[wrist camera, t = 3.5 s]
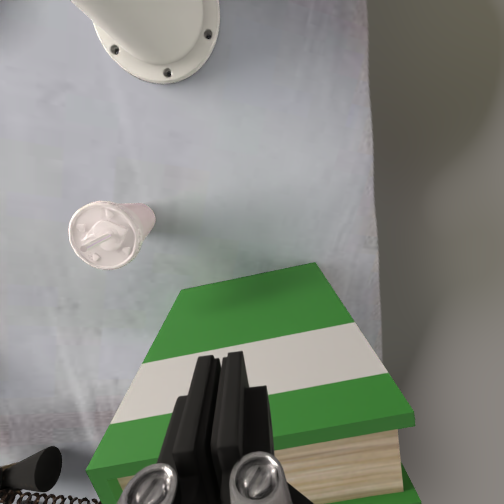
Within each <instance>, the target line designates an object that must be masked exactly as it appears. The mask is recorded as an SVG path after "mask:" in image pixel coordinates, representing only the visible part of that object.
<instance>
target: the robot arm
mask: <svg viewBox="0 0 504 504" xmlns="http://www.w3.org/2000/svg"><path fill="white" fill-rule="evenodd" d="M70 1H71V2H72V3H74V4H75V5H76V6H77V7H78V8H79V9H80V10H81V11H82V12H83V13H85V14H86V15H87V16H88V17H89V18H90V19H91V20H92V21H93V24H94V27H95V30H96V33H97V35H98V37H99V39H100V41H101V43H102V45H103V47H104V48H105V50H106V51H107V52H108V54H109V55H110V56H111V58H112V59H113V60H114V61H115V62H116V63H117V64H118V65H119V66H120V67H121V68H123V69H124V70H126V71H127V72H128V73H130V74H131V75H133V76H135V77H137V78H139V79H141V80H144V81H147V82H150V83H157V84H169V83H175V82H178V81H181V80H184V79H186V78H188V77H189V76H191V75H193V74H194V73H195V72H197V71H198V70H199V69H200V68H201V67H202V66H203V65H204V63H205V62H206V61H207V59H208V58H209V57H210V55H211V53H212V51H213V48H214V46H215V44H216V40H217V37H218V33H219V25H220V8H219V0H70ZM208 35H210V36H211V39H207V36H208ZM118 50H119V53H118V54H116V52H117V51H118ZM169 72H170V73H171V76H170V77H168V76H167V74H168V73H169ZM117 504H314V503H313V502H311V501H310V500H309V499H308V498H306V497H305V496H304V495H303V494H301V493H300V492H299V491H298V490H297V489H295V488H294V487H293V486H292V485H290V484H289V483H288V482H287V481H286V477H285V473H284V470H283V467H282V465H281V463H280V461H279V460H278V459H277V458H276V457H275V454H274V442H273V430H272V420H271V411H270V404H269V398H268V391H267V386H266V385H264V386H256V387H249V383H248V377H247V372H246V366H245V360H244V355H243V351H237V352H229V353H228V355H227V357H223V359H222V365H221V364H220V359H219V358H214V355H206V356H199V357H198V359H197V362H196V366H195V369H194V373H193V377H192V381H191V384H190V388H189V392H188V395H185V396H179V397H178V398H177V400H176V403H175V406H174V409H173V412H172V415H171V419H170V422H169V425H168V428H167V431H166V435H165V438H164V441H163V444H162V447H161V451H160V454H159V457H158V460H157V463H156V464H152V465H150V466H147V467H145V468H143V469H142V470H141V471H139V472H138V473H136V474H135V475H134V476H133V478H132V479H131V480H130V481H129V482H128V484H127V485H126V487H125V489H124V490H123V492H122V494H121V496H120V498H119V500H118V502H117Z"/></svg>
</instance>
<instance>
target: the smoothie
mask: <svg viewBox="0 0 504 504" xmlns="http://www.w3.org/2000/svg"><path fill="white" fill-rule="evenodd" d="M154 225H155V215H154V212H153V211H152V209H151V208H150V207H148V206H147V205H145V204H141V203H127V204H116V203H113V202H110V201H97V202H92V203H90V204H88V205H85V206H83V207H81V208H80V209H79V210H78V211H77V212H76V213H75V214H74V215H73V217H72V219H71V221H70V224H69V230H68V233H69V240H70V243H71V246H72V248H73V250H74V251H75V253H76V254H77V255H78V256H79V257H80V258H81V259H82V260H83V261H84V262H85V263H87V264H89V265H90V266H93V267H95V268H98V269H103V270H113V269H118V268H121V267H123V266H125V265H126V264H128V263H130V262H131V261H132V260H133V259H134V258H135V257H136V256H137V254H138V253H139V251H140V248H141V244H142V242H143V241H144V239H145V238H146V237H147V235H148V234H149V233H150V231H151V230H152V228H153V227H154Z"/></svg>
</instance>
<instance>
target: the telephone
mask: <svg viewBox="0 0 504 504" xmlns="http://www.w3.org/2000/svg"><path fill="white" fill-rule="evenodd" d="M61 468H62V455H61V452H60V450H59V449H58V448H57V447H55V446H51V447H48V448H46V449H44V450H42V451H40V452H38V453H36V454H34V455H32V456H30V457H28V458H27V459H25V460H23V461H21V462H17V463H12V464H9V465H5V466H1V467H0V498H1V500H0V503H3V504H12V503H13V502H14V499H15V496H16V495H17V494H19V495H20V497H19V499H18V500H17V504H38V503H39V499H40V498H41V497H42V496H43V497H44V499H45V501H44V502H43V504H47V502H48V499H49V498H53V502H52V504H55V503H56V500H57V499H59V498H61V499H62V502H61V503H60V504H64V502H65V500H66V499H67V498H64V496H63V495H59V496H57V497H56V496H55V495H54V494H50V495H48V496H47V495H46V494H45V493H43V494H41V495H39V493H34V494H32V495H34V496H36V497H37V498H36V500H35V501H31V498H32V495H31V493H30V492H26V493H24V494H22V492H21V490H22V489H25V490H31V491H37V492H47V491H49V490H50V489H51V488H52V487H53V486H54V485H55V484H56V482H57V480H58V478H59V476H60V473H61ZM25 495H28V496H29V497H28V498H27V500H24V501H22V498H23V497H24V496H25ZM68 498H69V500H70V504H73V502H74V501H76V500H77V499H78V498H77V497H75V498H74V499H73V498H72V496H68ZM83 501H87V504H91V503H92V502H94V503H95V504H102V503H101V501H100V502H99V503H98V501H97V500H96V499H92V502H91V503H90V501H89V500H88V499H87V498H86V497H85V498H83V499H78V503H79V504H81V503H82V502H83Z"/></svg>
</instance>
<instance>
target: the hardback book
mask: <svg viewBox="0 0 504 504" xmlns="http://www.w3.org/2000/svg"><path fill="white" fill-rule="evenodd" d="M237 351H243V355H244V360H245V366H246V372H247V377H248V383H249V387H256V386H264V385H266V386H267V391H268V398H269V404H270V411H271V420H272V430H273V442H274V454H275V457H276V458H277V459H278V460H279V461H280V463H281V465H282V467H283V470H284V473H285V477H286V481H287V482H288V483H289V484H290V485H292V486H293V487H294V488H295V489H297V490H298V491H299V492H300V493H301V494H303V495H304V496H305V497H306V498H308V499H309V500H310V501H311V502H313V503H314V504H421V500H420V498H419V496H418V494H417V492H416V490H415V488H414V486H413V484H412V483H411V480H410V478H409V476H408V475H407V472H406V471H405V469H404V467H403V465H402V463H401V460H400V452H399V441H398V431H397V429H401V428H407V427H413V426H415V417H414V411H413V409H412V408H411V406H410V405H409V403H408V402H407V400H406V399H405V397H404V396H403V394H402V393H401V391H400V390H399V388H398V387H397V385H396V384H395V382H394V381H393V379H392V378H391V376H390V375H389V373H388V372H387V370H386V369H385V367H384V366H383V364H382V362H381V361H380V359H379V358H378V356H377V355H376V353H375V352H374V350H373V349H372V347H371V346H370V344H369V343H368V341H367V340H366V338H365V337H364V335H363V334H362V332H361V331H360V329H359V328H358V326H357V325H356V323H355V322H354V320H353V319H352V317H351V315H350V314H349V312H348V311H347V309H346V308H345V306H344V305H343V303H342V302H341V300H340V299H339V297H338V296H337V294H336V293H335V291H334V290H333V288H332V287H331V285H330V284H329V282H328V281H327V279H326V278H325V276H324V275H323V273H322V272H321V270H320V268H319V267H318V265H317V264H316V262H314V263H309V264H304V265H299V266H295V267H290V268H285V269H280V270H275V271H270V272H266V273H261V274H256V275H251V276H246V277H242V278H237V279H232V280H227V281H222V282H217V283H213V284H208V285H203V286H198V287H193V288H188V289H184V290H181V291H180V293H179V295H178V297H177V299H176V301H175V303H174V304H173V306H172V308H171V310H170V312H169V314H168V316H167V318H166V320H165V321H164V323H163V325H162V327H161V329H160V331H159V333H158V335H157V337H156V338H155V340H154V342H153V344H152V346H151V348H150V350H149V352H148V353H147V355H146V357H145V359H144V361H143V363H142V365H141V367H140V369H139V370H138V372H137V374H136V376H135V378H134V380H133V382H132V384H131V386H130V387H129V389H128V391H127V393H126V395H125V397H124V399H123V401H122V402H121V404H120V406H119V408H118V410H117V412H116V414H115V416H114V418H113V419H112V421H111V423H110V425H109V427H108V429H107V431H106V433H105V435H104V436H103V438H102V440H101V442H100V444H99V446H98V448H97V450H96V451H95V453H94V455H93V457H92V459H91V461H90V463H89V465H88V467H87V468H86V470H85V471H86V473H87V475H88V477H89V479H90V481H91V483H92V485H93V487H94V489H95V491H96V493H97V495H98V497H99V499H100V501H101V503H102V504H117V502H118V500H119V498H120V496H121V494H122V492H123V490H124V489H125V487H126V485H127V484H128V482H129V481H130V480H131V479H132V478H133V476H134V475H135V474H136V473H138V472H139V471H141V470H142V469H143V468H145V467H147V466H150V465H152V464H156V463H157V460H158V457H159V454H160V451H161V447H162V444H163V441H164V438H165V435H166V431H167V428H168V425H169V422H170V419H171V415H172V412H173V409H174V406H175V403H176V400H177V398H178V397H179V396H185V395H188V392H189V388H190V384H191V381H192V377H193V373H194V369H195V366H196V362H197V359H198V357H199V356H206V355H214V358H219V359H220V364H221V365H222V359H223V357H227V355H228V353H229V352H237Z"/></svg>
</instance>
